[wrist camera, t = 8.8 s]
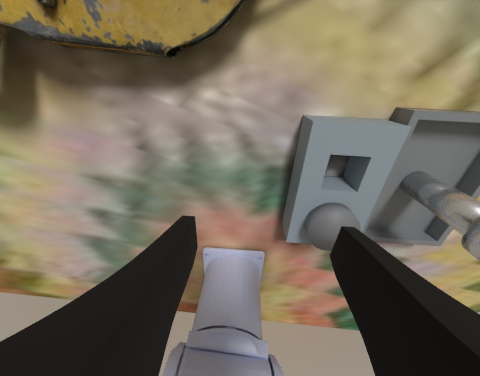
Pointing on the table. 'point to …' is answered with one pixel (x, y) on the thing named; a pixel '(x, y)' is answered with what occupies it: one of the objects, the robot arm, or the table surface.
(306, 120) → the block
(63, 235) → the table surface
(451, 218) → the lock pin
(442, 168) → the tray
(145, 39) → the pulley block
